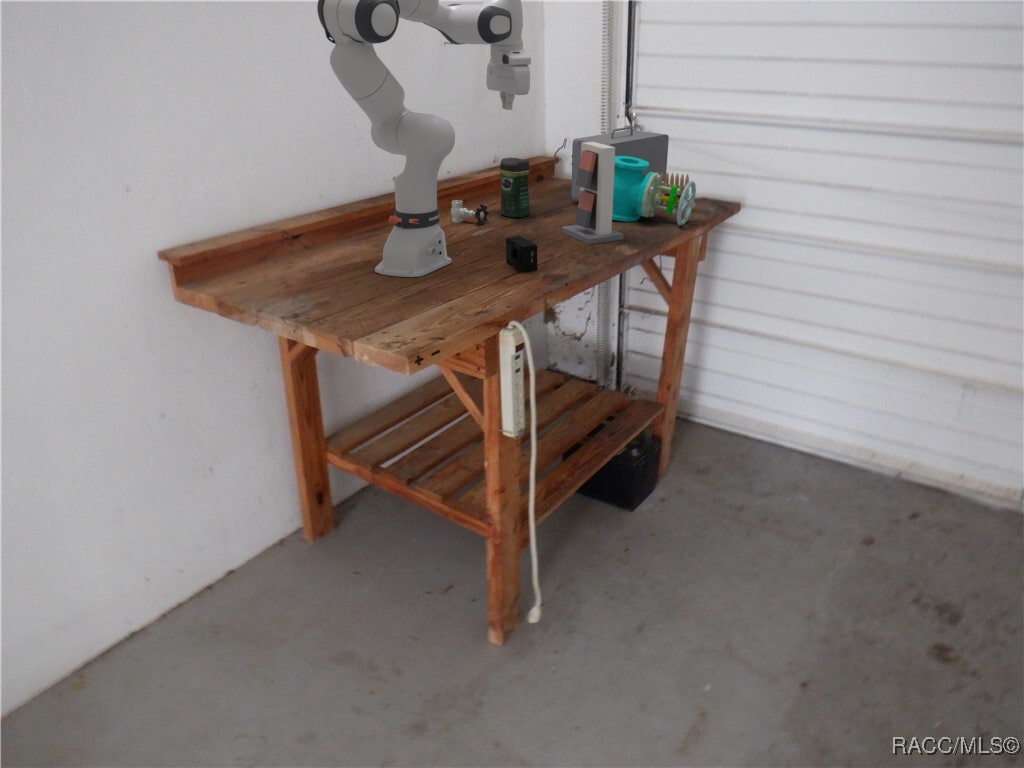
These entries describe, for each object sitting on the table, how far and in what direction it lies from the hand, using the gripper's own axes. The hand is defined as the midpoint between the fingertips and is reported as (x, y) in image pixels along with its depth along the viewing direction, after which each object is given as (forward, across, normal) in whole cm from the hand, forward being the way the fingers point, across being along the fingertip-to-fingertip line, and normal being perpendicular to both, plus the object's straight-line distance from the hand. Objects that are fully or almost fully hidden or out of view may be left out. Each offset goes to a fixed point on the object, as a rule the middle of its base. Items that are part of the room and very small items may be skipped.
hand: (507, 109), depth 228 cm
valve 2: (+38, +1, +49) cm, 62 cm away
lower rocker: (+34, +8, +20) cm, 40 cm away
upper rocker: (+22, +8, +20) cm, 31 cm away
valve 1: (+37, -24, -3) cm, 45 cm away
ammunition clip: (+37, -9, +67) cm, 77 cm away
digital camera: (+37, +26, -10) cm, 46 cm away
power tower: (+37, +8, +23) cm, 44 cm away
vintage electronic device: (+37, -29, +57) cm, 74 cm away
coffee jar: (+37, -26, +15) cm, 48 cm away
